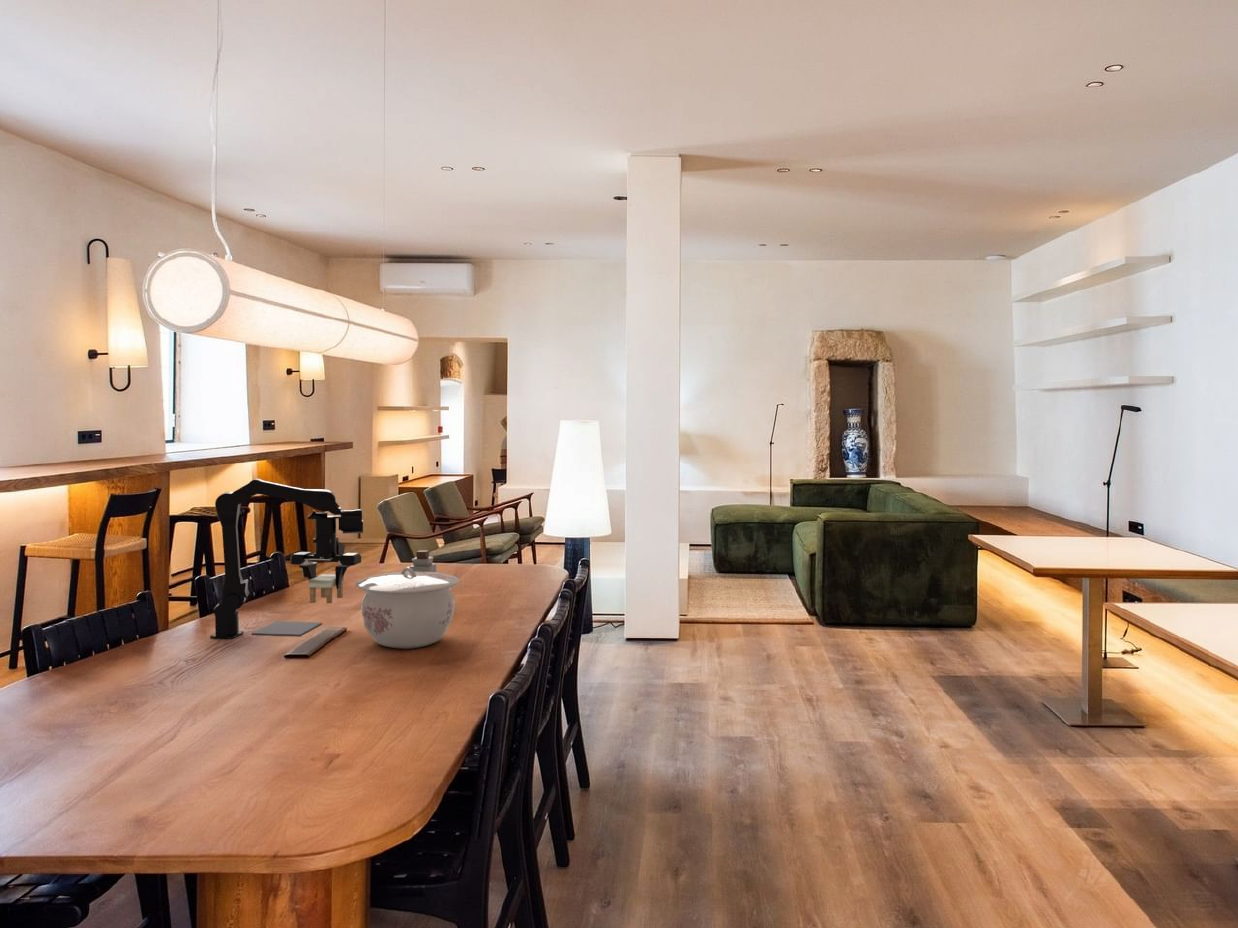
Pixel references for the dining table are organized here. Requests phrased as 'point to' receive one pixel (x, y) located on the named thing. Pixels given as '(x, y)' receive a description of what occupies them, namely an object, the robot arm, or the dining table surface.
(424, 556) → the perfume bottle
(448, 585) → the chamber pot
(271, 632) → the felt pad
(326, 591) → the stool
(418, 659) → the dining table surface
